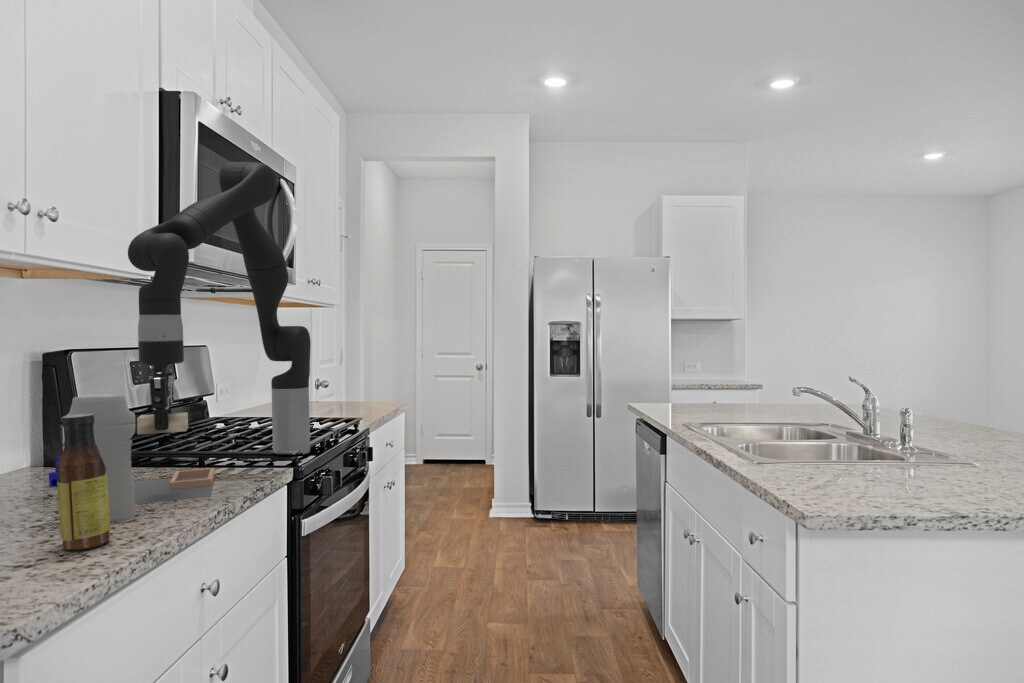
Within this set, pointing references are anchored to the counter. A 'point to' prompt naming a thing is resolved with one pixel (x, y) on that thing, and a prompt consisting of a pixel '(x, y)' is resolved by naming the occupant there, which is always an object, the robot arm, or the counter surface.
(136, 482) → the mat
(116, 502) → the tall pale column
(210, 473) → the frame
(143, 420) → the beige rectangular prism
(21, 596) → the counter surface
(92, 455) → the sauce bottle
